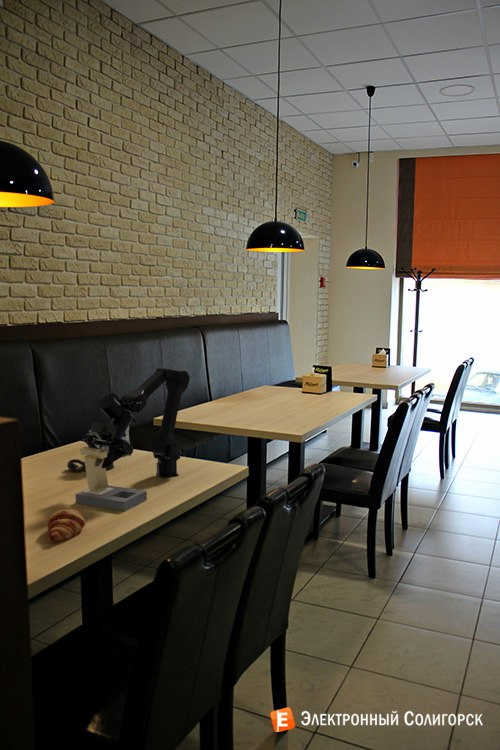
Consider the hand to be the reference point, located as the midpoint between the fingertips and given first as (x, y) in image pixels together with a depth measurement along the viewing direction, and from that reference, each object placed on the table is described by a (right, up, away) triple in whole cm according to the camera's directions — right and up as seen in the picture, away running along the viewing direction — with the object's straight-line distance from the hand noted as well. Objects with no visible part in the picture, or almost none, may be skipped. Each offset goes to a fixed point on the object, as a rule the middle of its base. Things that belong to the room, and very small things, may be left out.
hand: (94, 466), depth 208 cm
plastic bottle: (-3, -4, +62) cm, 62 cm away
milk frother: (-11, -7, +39) cm, 41 cm away
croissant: (-2, -15, -25) cm, 29 cm away
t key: (+1, -8, +2) cm, 8 cm away
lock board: (+5, -11, 0) cm, 13 cm away
